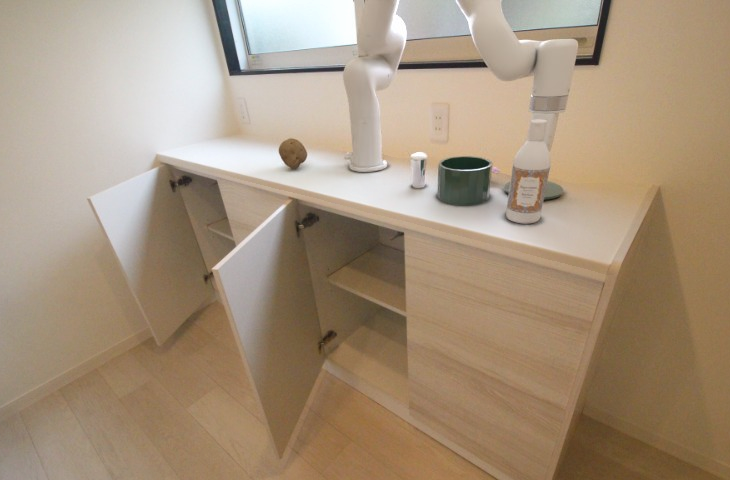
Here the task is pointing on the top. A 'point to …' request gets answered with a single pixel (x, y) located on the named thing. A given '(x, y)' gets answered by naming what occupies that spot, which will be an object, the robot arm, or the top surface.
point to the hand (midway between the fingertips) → (534, 178)
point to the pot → (464, 180)
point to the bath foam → (529, 177)
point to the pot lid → (550, 192)
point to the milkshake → (418, 169)
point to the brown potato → (292, 153)
